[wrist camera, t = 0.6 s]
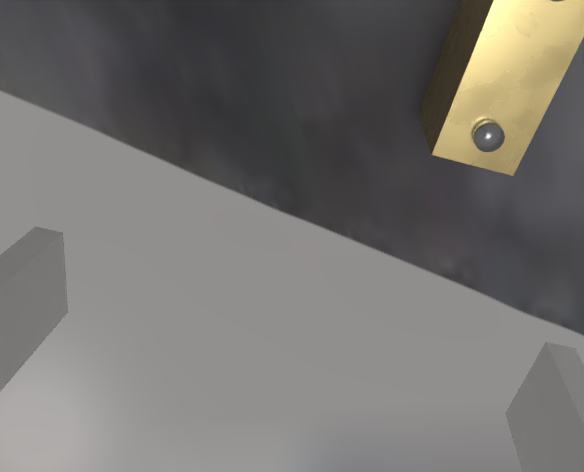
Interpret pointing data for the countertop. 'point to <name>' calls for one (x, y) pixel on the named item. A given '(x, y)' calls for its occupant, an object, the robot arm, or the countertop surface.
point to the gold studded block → (498, 78)
